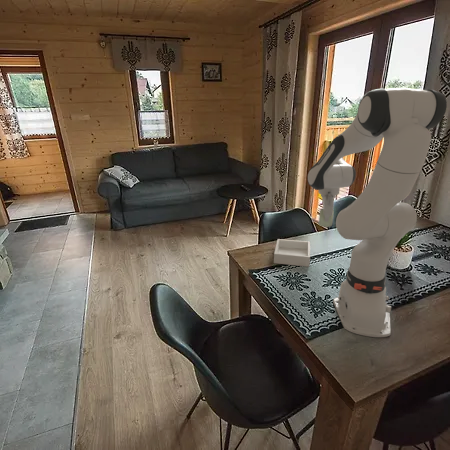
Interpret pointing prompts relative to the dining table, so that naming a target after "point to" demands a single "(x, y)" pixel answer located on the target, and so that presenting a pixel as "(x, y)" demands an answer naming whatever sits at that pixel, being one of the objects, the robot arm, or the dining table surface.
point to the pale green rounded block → (321, 219)
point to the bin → (292, 252)
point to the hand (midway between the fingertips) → (326, 218)
